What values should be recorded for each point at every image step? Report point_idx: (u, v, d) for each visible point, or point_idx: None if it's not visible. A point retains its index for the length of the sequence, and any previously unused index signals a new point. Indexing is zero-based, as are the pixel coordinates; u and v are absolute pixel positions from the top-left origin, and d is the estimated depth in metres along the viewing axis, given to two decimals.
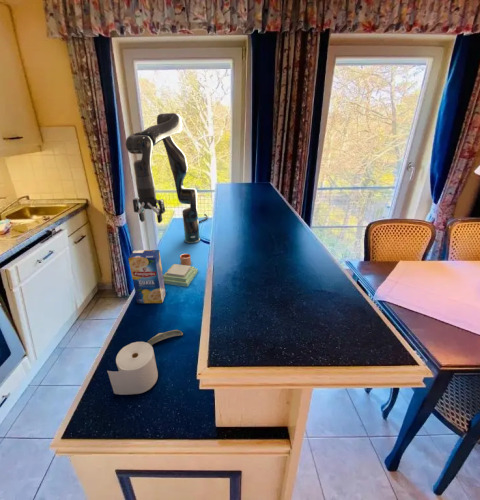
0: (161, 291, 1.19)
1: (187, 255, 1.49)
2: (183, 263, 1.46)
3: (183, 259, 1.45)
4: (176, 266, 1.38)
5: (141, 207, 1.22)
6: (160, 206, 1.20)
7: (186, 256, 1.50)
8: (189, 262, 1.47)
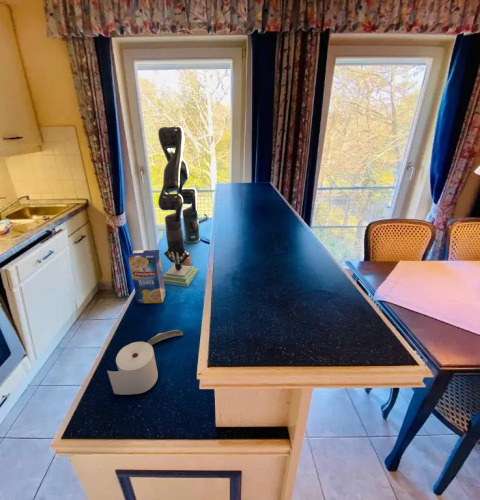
0: (161, 291, 1.19)
1: None
2: (183, 263, 1.46)
3: None
4: None
5: (173, 256, 1.31)
6: (184, 258, 1.30)
7: None
8: (189, 262, 1.47)
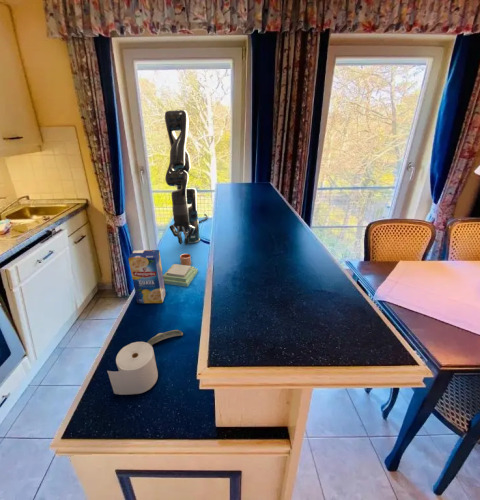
0: (161, 291, 1.19)
1: (187, 255, 1.49)
2: (183, 263, 1.46)
3: (183, 259, 1.45)
4: (176, 266, 1.38)
5: (178, 231, 1.40)
6: (191, 232, 1.39)
7: (186, 256, 1.50)
8: (189, 262, 1.47)
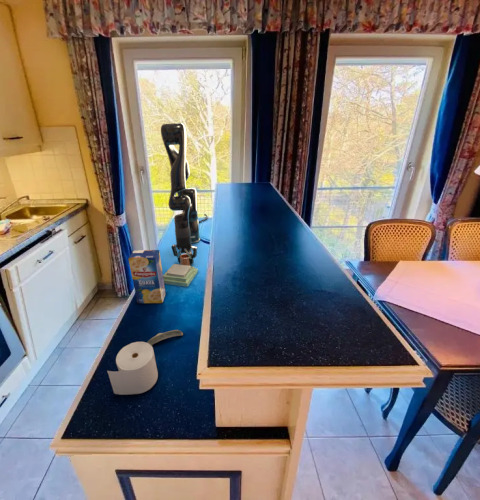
0: (161, 291, 1.19)
1: (187, 255, 1.49)
2: (183, 263, 1.46)
3: (183, 259, 1.45)
4: (176, 266, 1.38)
5: (179, 252, 1.45)
6: (194, 252, 1.43)
7: (186, 256, 1.50)
8: (189, 262, 1.47)
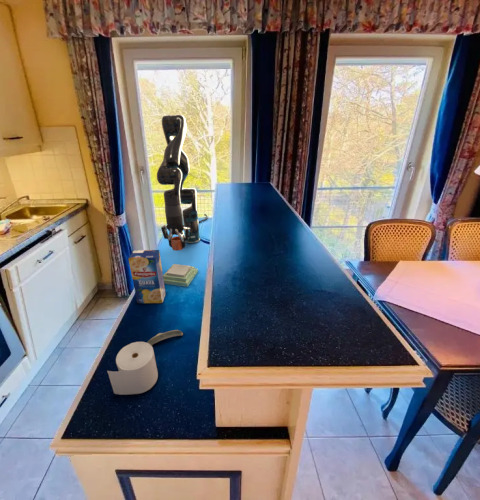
0: (161, 291, 1.19)
1: (179, 238, 1.33)
2: (174, 246, 1.30)
3: (174, 242, 1.29)
4: (176, 266, 1.38)
5: (170, 233, 1.29)
6: (186, 234, 1.27)
7: (178, 239, 1.34)
8: (181, 245, 1.31)
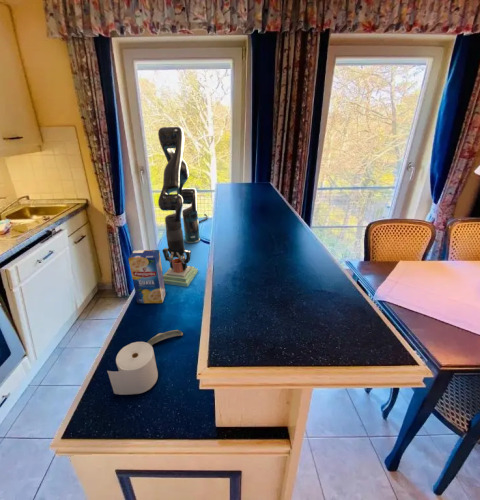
0: (161, 291, 1.19)
1: (180, 260, 1.36)
2: (175, 269, 1.33)
3: (175, 264, 1.32)
4: None
5: (171, 256, 1.32)
6: (187, 257, 1.30)
7: (179, 261, 1.36)
8: (182, 267, 1.34)
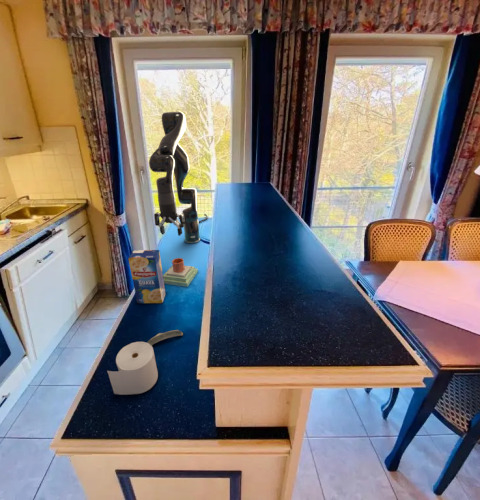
0: (161, 291, 1.19)
1: (180, 260, 1.36)
2: (175, 268, 1.33)
3: (175, 264, 1.32)
4: None
5: (162, 221, 1.28)
6: (181, 220, 1.26)
7: (179, 261, 1.36)
8: (182, 267, 1.34)
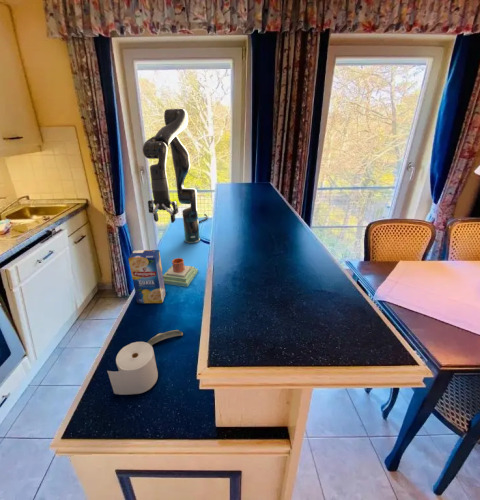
0: (161, 291, 1.19)
1: (180, 260, 1.36)
2: (175, 268, 1.33)
3: (175, 264, 1.32)
4: None
5: (156, 208, 1.31)
6: (174, 207, 1.28)
7: (179, 261, 1.36)
8: (182, 267, 1.34)
